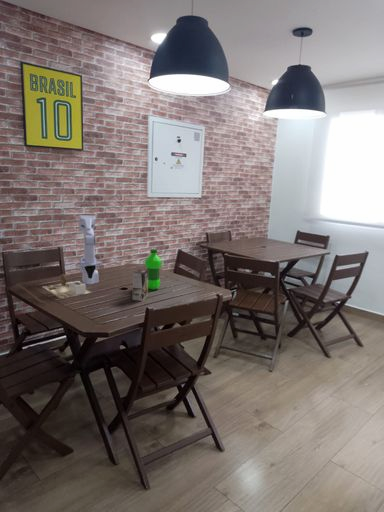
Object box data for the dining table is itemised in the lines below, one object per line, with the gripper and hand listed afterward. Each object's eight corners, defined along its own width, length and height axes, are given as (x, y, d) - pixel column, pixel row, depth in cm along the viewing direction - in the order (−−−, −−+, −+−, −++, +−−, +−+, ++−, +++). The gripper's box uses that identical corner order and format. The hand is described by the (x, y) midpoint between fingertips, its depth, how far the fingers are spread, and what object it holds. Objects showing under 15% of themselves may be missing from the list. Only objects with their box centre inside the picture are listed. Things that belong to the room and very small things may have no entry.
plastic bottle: (147, 285, 236) (148, 247, 231) (162, 287, 234) (164, 248, 229) (142, 289, 227) (142, 250, 221) (158, 291, 225) (159, 251, 219)
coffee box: (142, 301, 206) (143, 273, 203) (132, 299, 208) (132, 272, 204) (148, 296, 215) (148, 269, 212) (137, 295, 216) (138, 268, 213)
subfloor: (72, 283, 232) (72, 281, 232) (91, 294, 213) (91, 292, 213) (42, 288, 219) (42, 286, 219) (60, 300, 201) (60, 298, 200)
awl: (64, 284, 226) (64, 274, 225) (67, 285, 224) (66, 275, 222) (59, 284, 224) (59, 274, 222) (62, 286, 222) (61, 275, 220)
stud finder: (78, 288, 217) (78, 280, 216) (85, 292, 211) (85, 283, 210) (69, 290, 213) (69, 281, 212) (76, 294, 207) (75, 285, 206)
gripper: (81, 258, 205) (81, 281, 208) (104, 255, 215) (104, 277, 218) (75, 255, 210) (76, 278, 213) (98, 253, 220) (98, 275, 223)
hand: (90, 278), depth 216 cm, fingers closed
